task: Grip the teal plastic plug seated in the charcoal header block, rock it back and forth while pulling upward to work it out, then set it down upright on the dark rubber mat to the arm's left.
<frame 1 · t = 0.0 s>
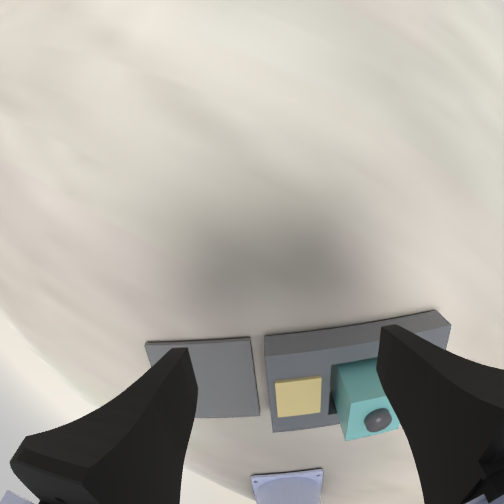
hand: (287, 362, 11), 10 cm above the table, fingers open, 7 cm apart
header: (354, 366, 22), on the table
plug: (354, 366, 23), resting in header
mat: (205, 381, 23), on the table
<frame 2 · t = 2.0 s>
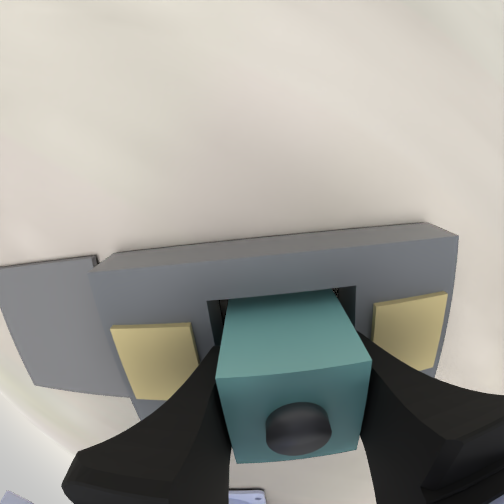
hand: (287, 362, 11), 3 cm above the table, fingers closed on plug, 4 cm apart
header: (281, 323, 13), on the table
plug: (281, 323, 13), resting in header, touching gripper
mat: (57, 332, 14), on the table
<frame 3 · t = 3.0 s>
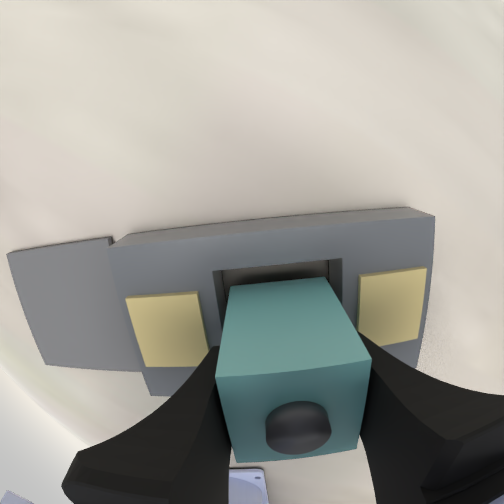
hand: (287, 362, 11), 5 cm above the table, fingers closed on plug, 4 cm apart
header: (278, 297, 15), on the table
plug: (281, 322, 13), point 2 cm above the table, touching gripper
mat: (71, 310, 16), on the table
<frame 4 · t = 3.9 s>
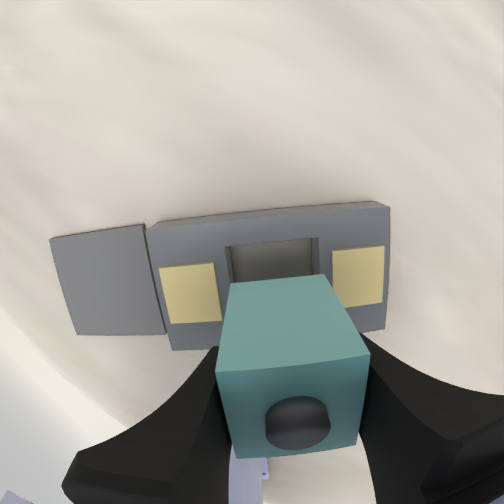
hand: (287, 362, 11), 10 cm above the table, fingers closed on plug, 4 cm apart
header: (272, 270, 20), on the table
plug: (280, 319, 14), point 7 cm above the table, touching gripper
mat: (105, 285, 20), on the table
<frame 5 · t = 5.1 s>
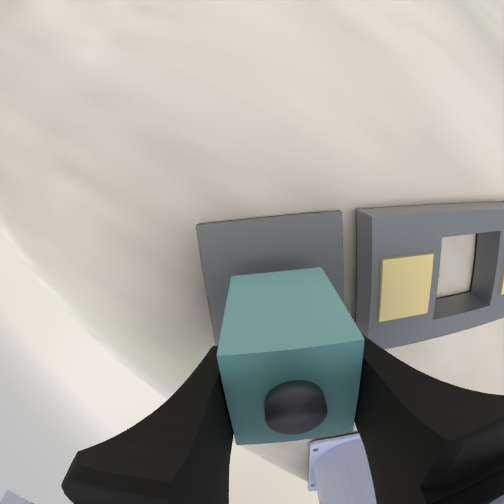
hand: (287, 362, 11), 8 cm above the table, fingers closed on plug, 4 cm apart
header: (449, 262, 18), on the table
plug: (279, 312, 14), point 4 cm above the table, touching gripper
mat: (275, 284, 18), on the table
when the fingers open (4 cm above the table, at t = 6.0 s): plug stays where it is, resting on mat.
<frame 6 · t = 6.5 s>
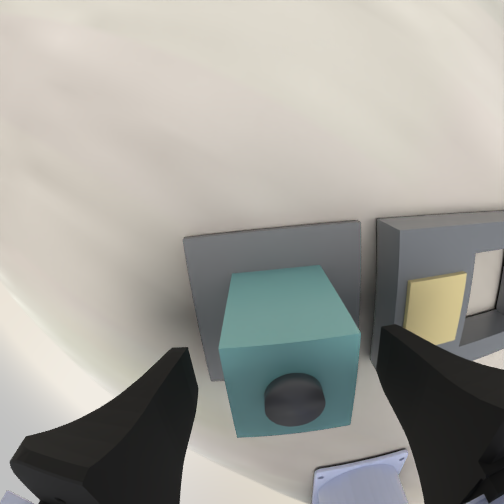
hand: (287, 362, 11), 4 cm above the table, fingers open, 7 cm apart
header: (476, 278, 14), on the table
plug: (279, 308, 14), resting on mat
mat: (279, 308, 15), on the table
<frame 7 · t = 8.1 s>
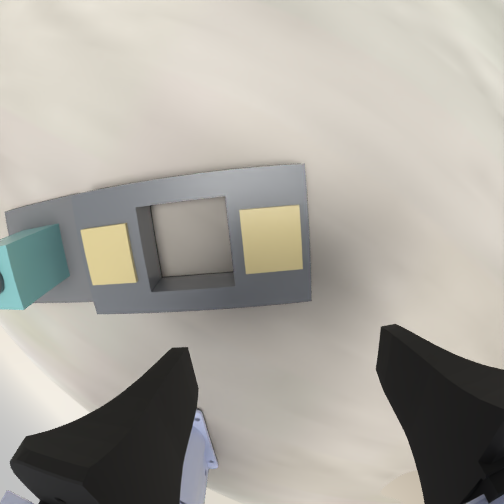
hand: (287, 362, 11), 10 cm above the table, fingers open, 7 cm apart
header: (192, 236, 20), on the table
plug: (45, 252, 19), resting on mat
mat: (48, 253, 20), on the table
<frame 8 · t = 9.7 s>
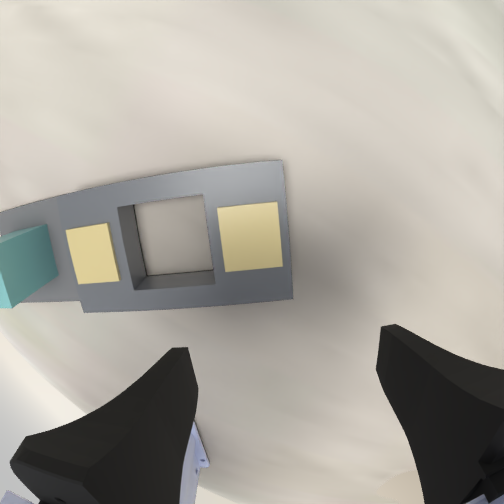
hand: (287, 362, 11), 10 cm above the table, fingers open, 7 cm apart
header: (175, 235, 20), on the table
plug: (35, 252, 19), resting on mat
mat: (38, 253, 20), on the table
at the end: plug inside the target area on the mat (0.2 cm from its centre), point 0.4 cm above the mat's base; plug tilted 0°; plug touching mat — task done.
